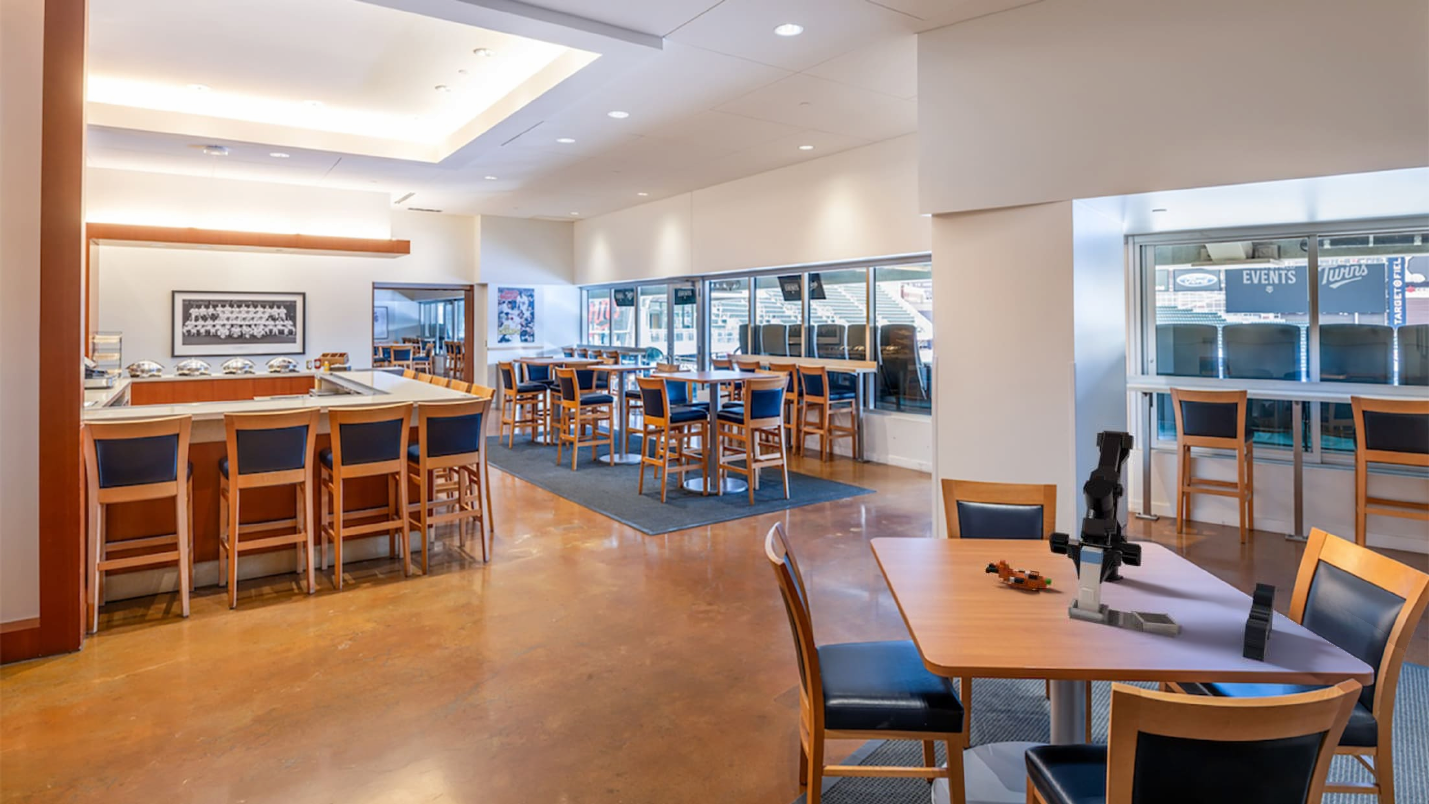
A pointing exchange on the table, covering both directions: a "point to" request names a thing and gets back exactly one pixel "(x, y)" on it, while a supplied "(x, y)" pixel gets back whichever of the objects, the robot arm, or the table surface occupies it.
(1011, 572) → the toy
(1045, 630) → the table surface
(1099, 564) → the plug
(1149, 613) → the gray square frame
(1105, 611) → the grey square holder
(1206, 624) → the table surface
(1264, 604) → the logo
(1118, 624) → the panel
